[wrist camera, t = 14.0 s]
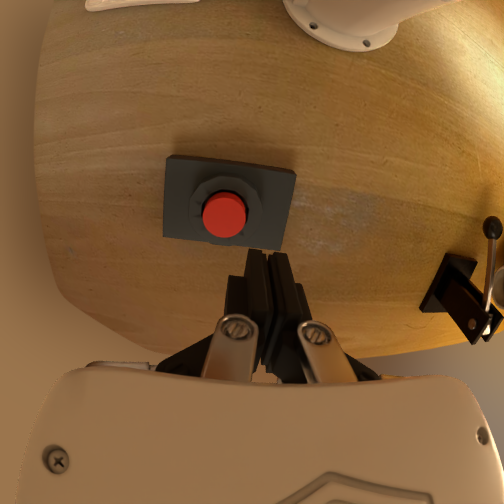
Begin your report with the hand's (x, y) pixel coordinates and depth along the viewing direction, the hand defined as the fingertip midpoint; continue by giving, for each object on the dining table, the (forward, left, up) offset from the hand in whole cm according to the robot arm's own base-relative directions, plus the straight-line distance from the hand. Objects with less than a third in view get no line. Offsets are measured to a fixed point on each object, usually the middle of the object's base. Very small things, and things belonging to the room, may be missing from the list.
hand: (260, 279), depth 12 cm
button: (-2, -2, -13) cm, 13 cm away
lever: (+33, -4, -11) cm, 35 cm away
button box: (-2, -2, -16) cm, 17 cm away
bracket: (+33, -9, -16) cm, 38 cm away
